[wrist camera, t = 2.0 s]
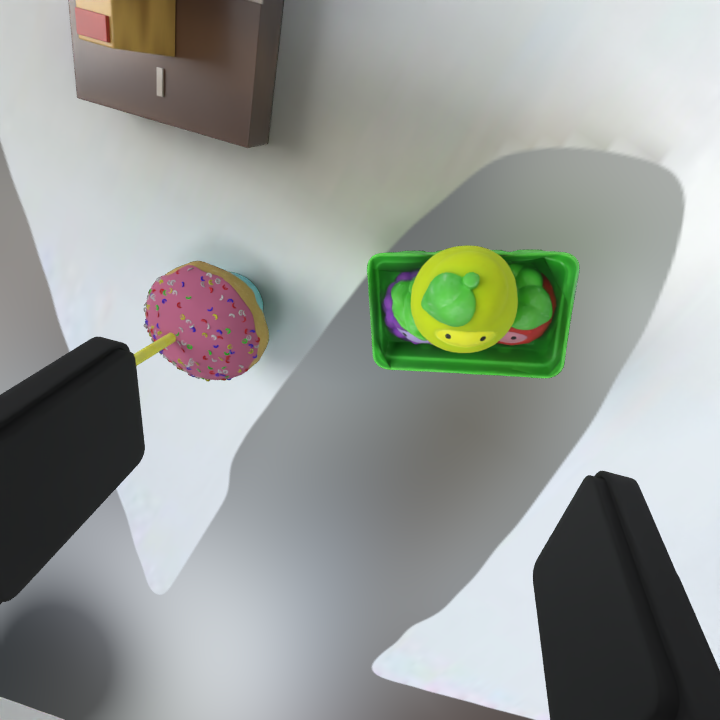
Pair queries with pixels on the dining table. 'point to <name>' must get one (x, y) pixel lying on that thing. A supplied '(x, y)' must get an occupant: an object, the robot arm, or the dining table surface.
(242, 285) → the cupcake
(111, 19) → the tap handle
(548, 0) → the dining table surface
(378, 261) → the fruit basket
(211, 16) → the plate
